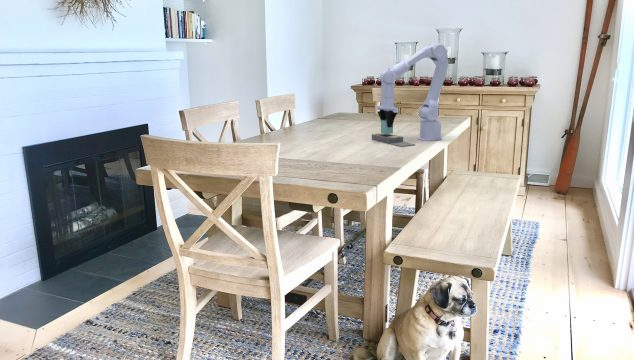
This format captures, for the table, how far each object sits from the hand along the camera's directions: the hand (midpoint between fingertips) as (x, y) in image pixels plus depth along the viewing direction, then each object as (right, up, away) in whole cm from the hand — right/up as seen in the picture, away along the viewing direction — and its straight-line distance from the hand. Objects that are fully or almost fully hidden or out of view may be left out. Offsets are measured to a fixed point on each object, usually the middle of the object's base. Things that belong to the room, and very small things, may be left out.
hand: (387, 126), depth 244 cm
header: (0, -6, +2) cm, 7 cm away
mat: (+6, -9, -9) cm, 14 cm away
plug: (0, -3, +1) cm, 3 cm away
